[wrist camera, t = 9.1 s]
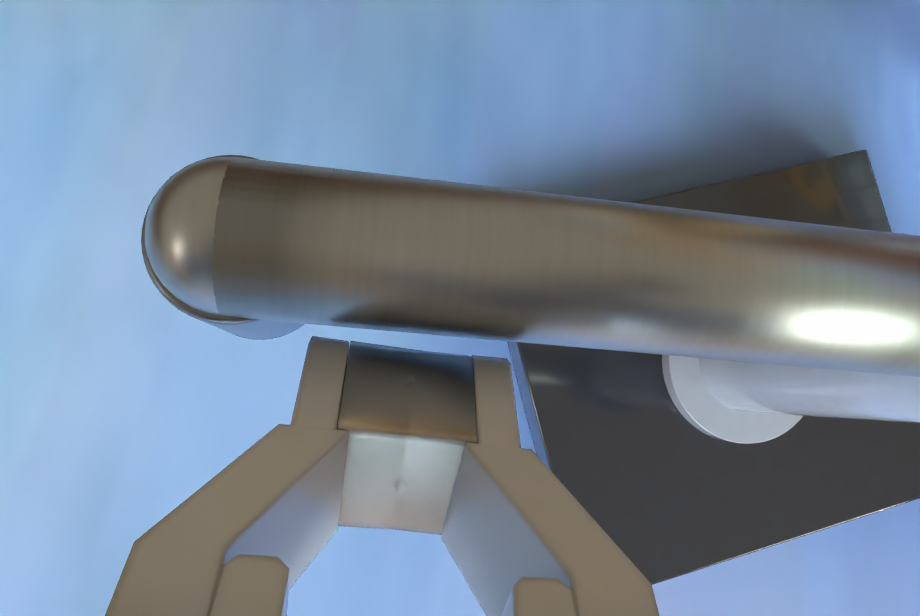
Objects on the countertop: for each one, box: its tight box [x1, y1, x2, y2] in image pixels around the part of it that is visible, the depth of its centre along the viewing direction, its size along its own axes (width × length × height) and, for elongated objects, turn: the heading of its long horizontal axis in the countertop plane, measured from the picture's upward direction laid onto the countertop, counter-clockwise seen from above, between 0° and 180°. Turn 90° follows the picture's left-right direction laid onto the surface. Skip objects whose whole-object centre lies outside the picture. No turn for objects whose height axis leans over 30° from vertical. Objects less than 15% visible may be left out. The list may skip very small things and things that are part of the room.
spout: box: [141, 155, 920, 377], centre depth 11 cm, size 17×4×4 cm, turn 86°
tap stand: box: [507, 150, 920, 585], centre depth 19 cm, size 14×12×12 cm
